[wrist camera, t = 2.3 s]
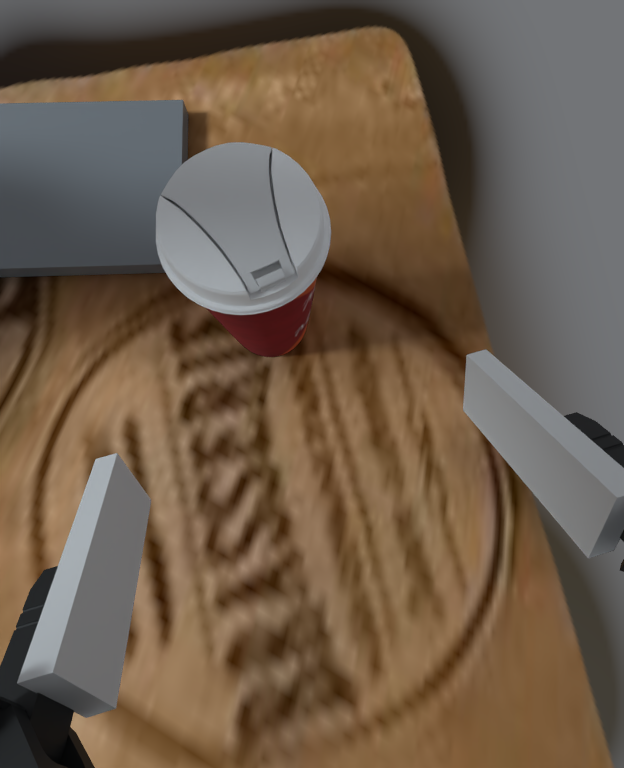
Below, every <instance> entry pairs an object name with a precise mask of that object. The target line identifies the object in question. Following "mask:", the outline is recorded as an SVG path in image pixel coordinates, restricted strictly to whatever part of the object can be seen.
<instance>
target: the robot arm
mask: <svg viewBox="0 0 624 768" xmlns="http://www.w3.org/2000/svg"><path fill="white" fill-rule="evenodd" d="M463 410H464V412H465V413H466V414H467V415H468V416H469V418H470V419H471V420H472V421H473V422H474V424H475V425H476V426H477V427H478V428H479V429H480V431H481V432H482V433H483V434H484V435H485V437H486V438H487V439H488V440H489V441H490V443H491V444H492V445H493V446H494V447H495V448H496V450H497V451H498V452H499V453H500V454H501V456H502V457H503V458H504V459H505V460H506V462H507V463H508V464H509V465H510V466H511V467H512V469H513V470H514V471H515V472H516V473H517V475H518V476H519V477H520V478H521V479H522V481H523V482H524V483H525V484H526V485H527V486H528V488H529V489H530V490H531V491H532V492H533V494H534V495H535V496H536V497H537V498H538V500H539V501H540V502H541V503H542V504H543V505H544V507H545V508H546V509H547V510H548V511H549V513H550V514H551V515H552V516H553V517H554V519H555V520H556V521H557V522H558V523H559V524H560V526H561V527H562V528H563V529H564V530H565V532H566V533H567V534H568V535H569V536H570V537H571V539H572V540H573V541H574V542H575V543H576V545H577V546H578V547H579V548H580V549H581V550H582V552H583V553H584V554H585V555H586V557H587V558H592V557H595V556H598V555H601V554H604V553H607V552H611V551H614V549H615V547H616V545H617V544H618V542H619V540H620V538H621V539H622V540H623V541H624V445H623V443H622V442H621V441H620V440H618V439H617V438H616V437H615V436H611V434H610V432H608V431H607V430H606V429H604V428H603V427H602V426H601V425H600V424H598V423H597V422H596V421H594V420H592V419H589V418H588V417H585V416H583V415H581V414H579V413H573V414H569V415H566V416H563V415H562V414H560V413H559V412H558V411H557V410H556V409H555V408H553V407H552V406H551V405H550V404H549V403H548V402H546V401H545V400H544V399H543V398H542V397H541V396H540V395H538V394H537V393H536V392H535V391H534V390H533V389H531V388H530V387H529V386H528V385H527V384H526V383H524V382H523V381H522V380H521V379H520V378H519V377H517V376H516V375H515V374H514V373H513V372H512V371H511V370H509V369H508V368H507V367H506V366H505V365H503V364H502V363H501V362H500V361H499V360H498V359H497V358H495V357H494V356H493V355H492V354H491V353H490V352H488V351H487V350H482V351H479V352H475V353H471V354H468V355H467V358H466V373H465V388H464V404H463ZM150 505H151V499H150V498H149V496H148V495H147V494H146V492H145V491H144V489H143V488H142V487H141V485H140V484H139V483H138V481H137V480H136V478H135V477H134V476H133V474H132V473H131V471H130V470H129V469H128V467H127V466H126V465H125V463H124V462H123V460H122V459H121V458H120V456H119V455H118V453H116V454H112V455H109V456H105V457H102V458H98V459H96V460H95V463H94V466H93V468H92V471H91V474H90V477H89V480H88V483H87V485H86V488H85V491H84V494H83V497H82V500H81V503H80V505H79V508H78V511H77V514H76V517H75V520H74V522H73V525H72V528H71V531H70V534H69V537H68V539H67V542H66V545H65V548H64V551H63V554H62V556H61V559H60V562H59V565H58V566H56V567H53V568H50V569H46V570H44V571H43V573H42V574H41V576H40V577H39V578H38V580H37V581H36V583H35V584H34V585H33V587H32V588H31V590H30V592H29V595H28V597H27V600H26V602H25V605H24V607H23V613H22V614H21V615H20V618H19V620H18V623H17V625H16V628H17V629H16V630H15V631H14V633H13V635H12V638H11V640H10V643H9V645H8V648H7V651H6V653H5V656H4V658H3V661H2V663H1V666H0V768H95V767H94V766H93V764H92V762H91V760H90V758H89V756H88V754H87V752H86V751H85V749H84V747H83V745H82V743H81V741H80V739H79V738H78V736H77V734H76V732H75V731H74V730H73V729H72V728H71V727H70V725H71V721H72V717H73V712H76V713H78V714H80V715H82V716H84V717H86V718H87V717H90V716H93V715H97V714H100V713H103V712H106V711H109V710H112V709H116V705H117V699H118V693H119V687H120V681H121V675H122V670H123V664H124V658H125V652H126V646H127V640H128V634H129V628H130V622H131V617H132V611H133V605H134V599H135V593H136V587H137V581H138V575H139V569H140V564H141V558H142V552H143V546H144V540H145V534H146V528H147V522H148V516H149V510H150ZM620 570H621V571H624V560H623V562H622V563H621V568H620Z"/></svg>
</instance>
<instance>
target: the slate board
mask: <svg viewBox="0 0 624 768" xmlns="http://www.w3.org/2000/svg"><path fill="white" fill-rule="evenodd" d="M187 160H188V112H187V110H186V107H185V104H184V101H183V100H158V101H108V102H58V103H9V104H0V277H30V276H66V275H102V274H138V273H166V272H165V270H164V269H163V267H162V264H161V262H160V259H159V256H158V252H157V246H156V211H157V205H158V200H159V197H160V196H162V195H161V193H162V191H163V190H164V188H165V186H166V185H167V183H168V181H169V180H170V179H171V177H172V176H173V174H174V173H175V171H176V170H177V169H178V168H179V167H180V166H181V165H182V164H183V163H184V162H185V161H187Z"/></svg>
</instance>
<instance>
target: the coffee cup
mask: <svg viewBox="0 0 624 768" xmlns="http://www.w3.org/2000/svg"><path fill="white" fill-rule="evenodd" d="M161 195H162V196H160V197H159V200H158V205H157V211H156V246H157V252H158V256H159V259H160V262H161V264H162V267H163V269H164V270H165V272H166V274H167V276H168V277H169V279H170V280H171V281H172V283H173V284H174V285H175V286H176V287H177V289H178V290H180V291H181V292H182V293H183V294H184V295H185V296H186V297H188V298H189V299H191V300H192V301H194V302H195V303H197V304H199V305H200V306H203V307H205V308H206V309H207V310H208V311H209V312H210V313H211V314H212V315H213V316H214V317H215V318H216V319H217V320H218V321H219V322H220V323H221V324H222V325H223V326H224V327H225V328H226V329H227V330H228V331H229V332H230V333H231V334H232V335H233V336H234V337H235V338H236V339H237V340H238V341H239V342H240V343H241V344H242V345H243V346H244V347H245V348H247V349H248V350H249V351H251V352H253V353H255V354H257V355H260V356H265V357H276V356H280V355H284V354H286V353H288V352H290V351H291V350H293V349H294V348H295V347H296V346H297V345H298V344H299V343H300V341H301V340H302V338H303V336H304V334H305V331H306V328H307V325H308V320H309V315H310V311H311V305H312V300H313V295H314V290H315V284H316V279H317V276H318V274H319V273H320V271H321V269H322V267H323V265H324V263H325V260H326V258H327V254H328V251H329V247H330V238H331V226H330V218H329V214H328V210H327V207H326V204H325V202H324V200H323V198H322V196H321V194H320V193H319V191H318V189H317V188H316V186H315V185H314V183H313V182H312V180H311V179H310V177H309V176H308V174H307V173H306V172H305V171H304V169H303V168H302V167H301V166H300V165H299V164H298V163H297V162H295V161H294V160H293V159H292V158H290V157H289V156H288V155H286V154H284V153H283V152H281V151H279V150H277V149H275V148H271V147H267V146H262V145H257V144H250V143H243V142H239V143H226V144H221V145H217V146H215V147H212V148H209V149H206V150H204V151H202V152H200V153H198V154H196V155H194V156H193V157H191V158H190V159H188V160H187V161H185V162H184V163H183V164H182V165H181V166H180V167H179V168H178V169H177V170H176V171H175V173H174V174H173V176H172V177H171V179H170V180H169V181H168V183H167V185H166V186H165V188H164V190H163V191H162V193H161Z"/></svg>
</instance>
